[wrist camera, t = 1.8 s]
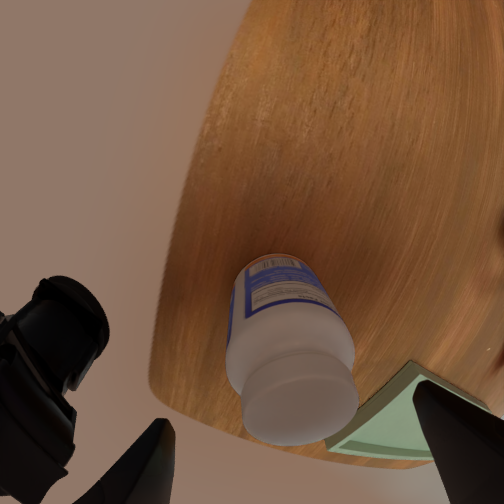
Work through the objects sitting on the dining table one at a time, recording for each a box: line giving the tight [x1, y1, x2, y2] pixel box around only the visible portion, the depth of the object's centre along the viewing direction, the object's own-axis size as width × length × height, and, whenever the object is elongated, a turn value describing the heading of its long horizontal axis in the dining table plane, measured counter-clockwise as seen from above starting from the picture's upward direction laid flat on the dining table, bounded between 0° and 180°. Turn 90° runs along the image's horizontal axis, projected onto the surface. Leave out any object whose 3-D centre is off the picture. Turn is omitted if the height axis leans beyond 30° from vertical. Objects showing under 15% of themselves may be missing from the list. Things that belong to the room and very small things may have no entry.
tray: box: [325, 360, 492, 460], centre depth 23 cm, size 28×12×2 cm, turn 56°
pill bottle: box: [225, 253, 359, 446], centre depth 12 cm, size 5×5×10 cm
